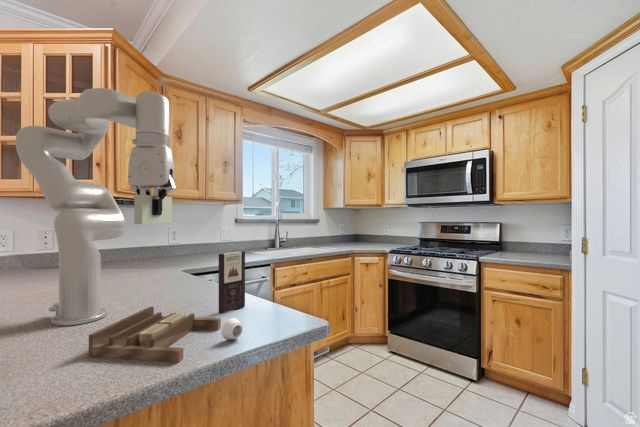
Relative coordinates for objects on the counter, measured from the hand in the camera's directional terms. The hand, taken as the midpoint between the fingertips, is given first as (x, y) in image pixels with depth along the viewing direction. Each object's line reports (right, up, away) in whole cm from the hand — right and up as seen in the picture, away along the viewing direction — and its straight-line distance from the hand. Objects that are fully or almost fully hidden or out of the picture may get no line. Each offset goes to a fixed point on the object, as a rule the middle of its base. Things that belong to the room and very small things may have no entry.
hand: (152, 214), depth 78 cm
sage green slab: (+1, +1, +7) cm, 7 cm away
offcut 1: (+6, -30, -9) cm, 32 cm away
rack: (+5, -30, -6) cm, 31 cm away
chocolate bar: (+15, -30, +19) cm, 39 cm away
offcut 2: (+6, -30, -2) cm, 31 cm away
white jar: (+22, -30, -5) cm, 38 cm away
